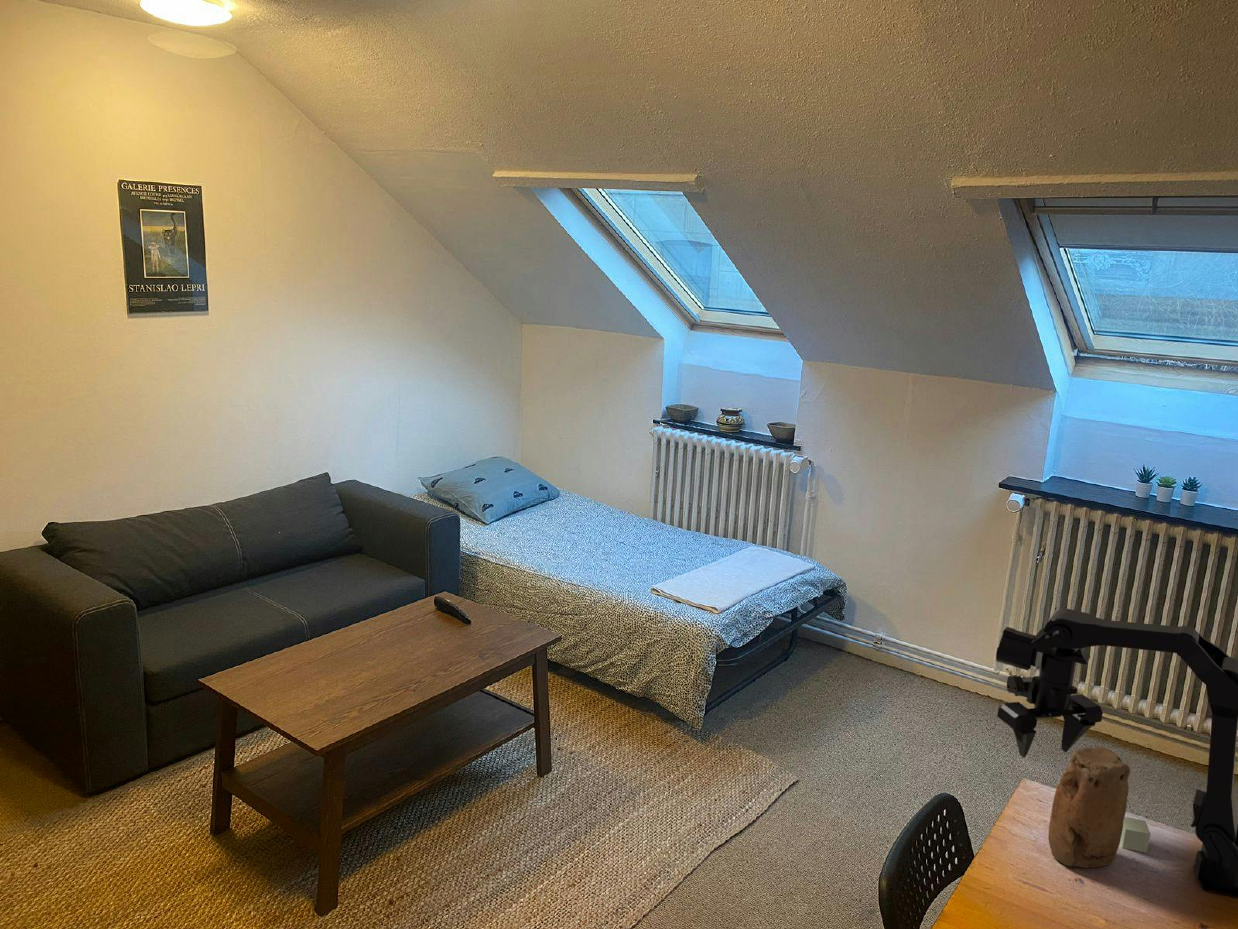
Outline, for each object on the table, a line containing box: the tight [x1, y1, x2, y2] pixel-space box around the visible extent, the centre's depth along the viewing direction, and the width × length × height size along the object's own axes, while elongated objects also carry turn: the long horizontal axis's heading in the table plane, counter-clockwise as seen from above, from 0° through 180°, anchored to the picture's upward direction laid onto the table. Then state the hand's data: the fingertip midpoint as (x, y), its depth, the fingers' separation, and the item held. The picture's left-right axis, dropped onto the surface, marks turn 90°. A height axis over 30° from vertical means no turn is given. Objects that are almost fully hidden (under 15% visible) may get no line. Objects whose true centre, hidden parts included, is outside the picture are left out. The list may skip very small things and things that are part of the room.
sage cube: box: [1120, 816, 1151, 853], centre depth 167 cm, size 4×4×4 cm
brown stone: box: [1047, 747, 1131, 868], centre depth 161 cm, size 11×8×20 cm
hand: (1043, 753), depth 172 cm, fingers open, 9 cm apart
